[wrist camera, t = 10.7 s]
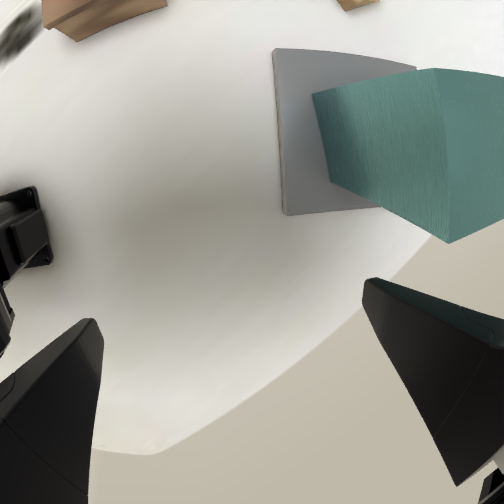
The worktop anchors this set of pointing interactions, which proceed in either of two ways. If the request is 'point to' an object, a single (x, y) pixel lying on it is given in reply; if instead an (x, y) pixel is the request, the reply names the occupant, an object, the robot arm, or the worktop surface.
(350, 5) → the block
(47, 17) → the walnut box
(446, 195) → the tall teal box
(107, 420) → the worktop surface
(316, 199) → the plate
